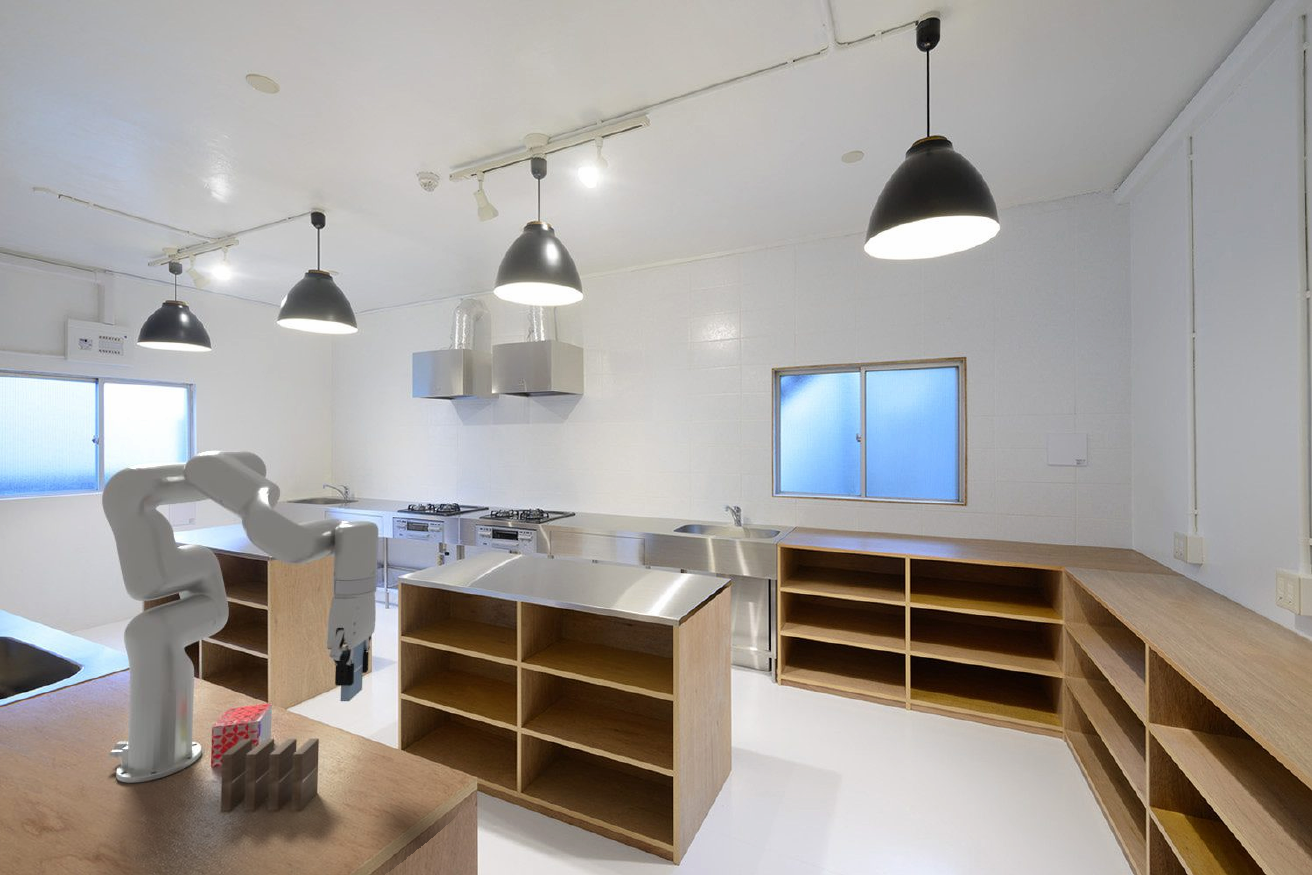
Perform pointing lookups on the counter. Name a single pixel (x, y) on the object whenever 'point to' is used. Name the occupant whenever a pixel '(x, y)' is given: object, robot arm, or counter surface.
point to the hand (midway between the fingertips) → (352, 677)
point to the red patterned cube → (240, 729)
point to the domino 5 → (356, 687)
